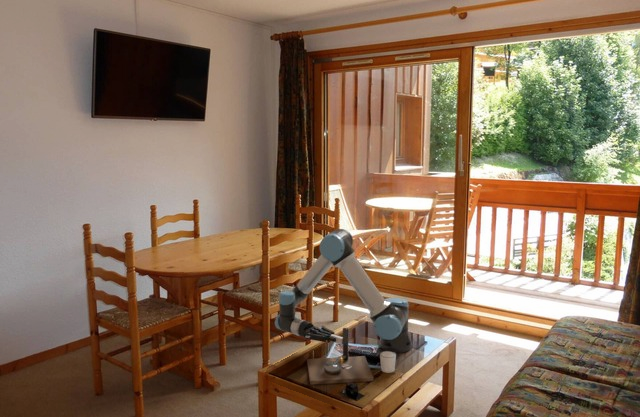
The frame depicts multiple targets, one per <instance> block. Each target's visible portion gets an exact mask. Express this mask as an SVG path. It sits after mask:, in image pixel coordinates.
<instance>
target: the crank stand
mask: <svg viewBox="0 0 640 417" xmlns="http://www.w3.org/2000/svg"><path fill="white" fill-rule="evenodd" d="M339 357H340V356H338V357H337V356H335V357H322V358H321V357H319V358H318V357H317V358H306V363H307V364H306V365H307V370H308V372H307V373H308V376H309V377H308V378H309V383H310V384H309V385H322V384H323V385H325V384H340V383H342V384H343V383H346V384H347V383H349V382H353V383H361V382H374V380H375V379H374V378H375V376H374V375H373V372H372V370H371V367H370V365H369V363H368V362H369V361H367V358H366V356H365V355H361V356H359V355H358V356H357V355H356V356H348V360H343V363H341V372H340V373H338V374H328V373H326V372H325V371H324V365H325V363H327V362H330V361H336V360H337V359H338V358H339Z"/></svg>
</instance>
